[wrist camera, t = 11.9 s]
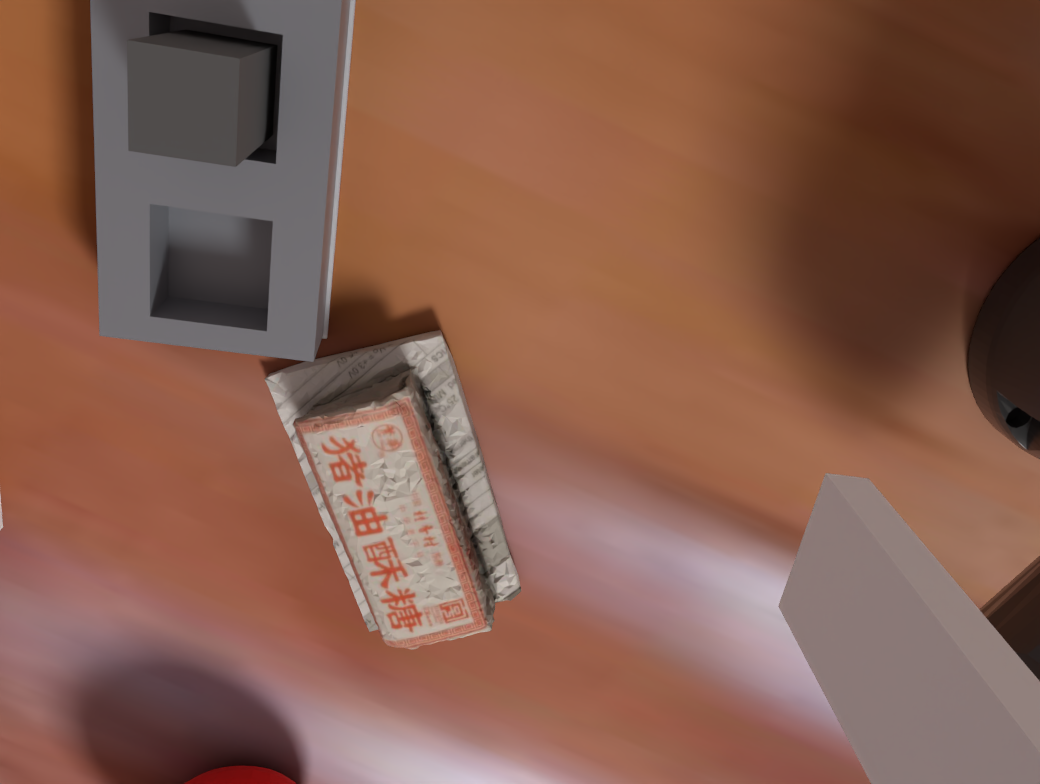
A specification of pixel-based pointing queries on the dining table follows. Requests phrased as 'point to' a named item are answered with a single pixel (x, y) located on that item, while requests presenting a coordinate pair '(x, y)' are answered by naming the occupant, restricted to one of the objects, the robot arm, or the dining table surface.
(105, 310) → the socket strip
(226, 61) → the dark grey block
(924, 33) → the dining table surface
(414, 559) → the packaged product
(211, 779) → the tomato
